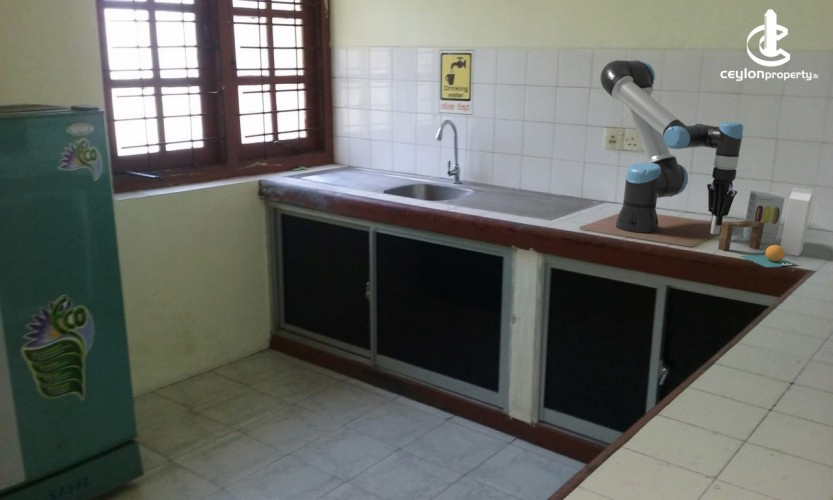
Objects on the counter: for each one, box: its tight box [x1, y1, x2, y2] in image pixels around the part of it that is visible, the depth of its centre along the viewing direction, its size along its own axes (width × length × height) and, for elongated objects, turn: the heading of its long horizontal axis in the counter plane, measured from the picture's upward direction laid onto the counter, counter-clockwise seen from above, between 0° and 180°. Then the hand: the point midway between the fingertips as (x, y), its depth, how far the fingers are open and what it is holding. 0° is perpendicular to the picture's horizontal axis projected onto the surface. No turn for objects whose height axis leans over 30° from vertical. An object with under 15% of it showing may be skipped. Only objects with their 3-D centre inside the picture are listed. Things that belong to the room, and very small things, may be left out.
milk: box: [779, 187, 813, 257], centre depth 248 cm, size 6×6×22 cm
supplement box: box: [742, 190, 785, 245], centre depth 264 cm, size 10×9×17 cm
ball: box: [764, 244, 785, 262], centre depth 239 cm, size 6×6×6 cm
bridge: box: [717, 220, 764, 252], centre depth 252 cm, size 14×3×9 cm, turn 107°
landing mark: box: [740, 254, 797, 268], centre depth 241 cm, size 12×12×1 cm
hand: (714, 233), depth 265 cm, fingers closed
